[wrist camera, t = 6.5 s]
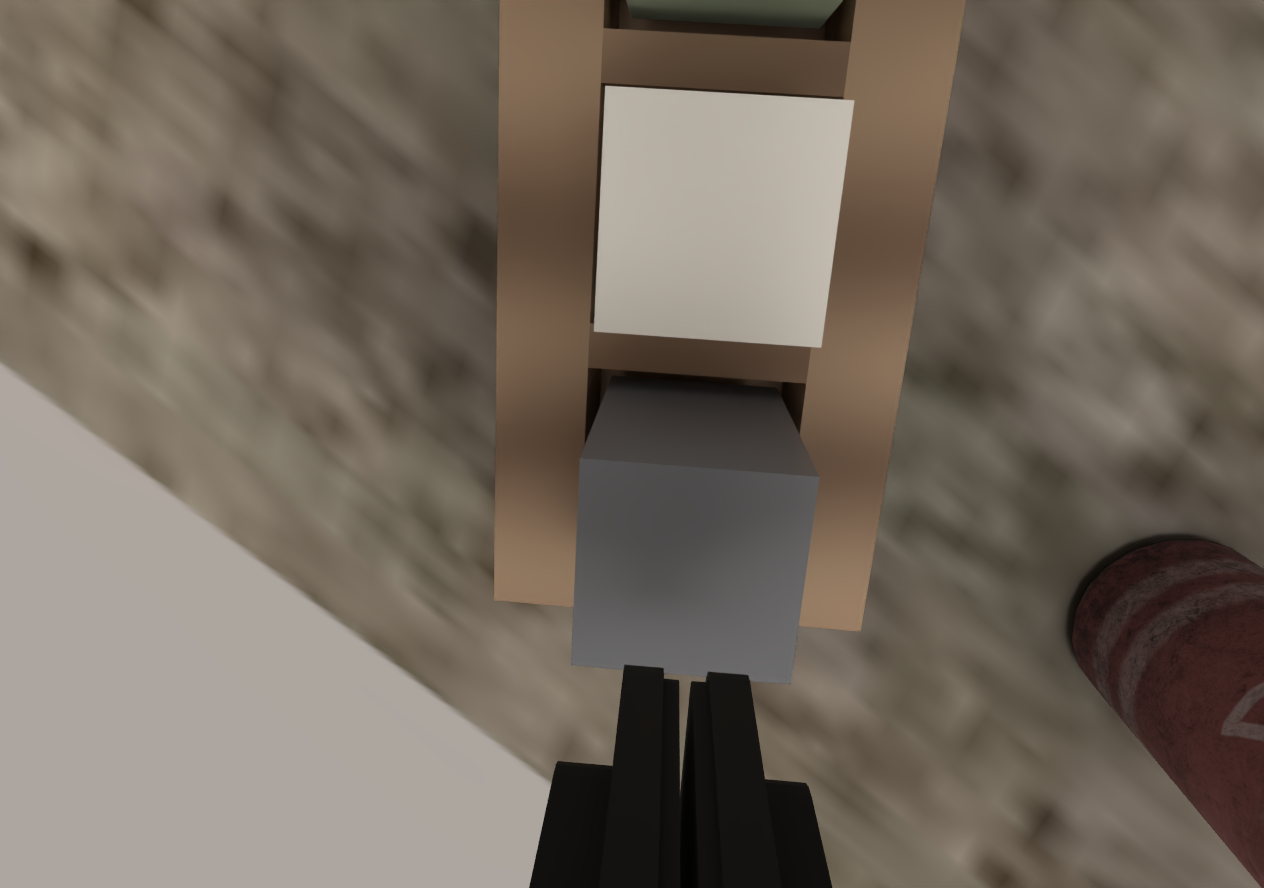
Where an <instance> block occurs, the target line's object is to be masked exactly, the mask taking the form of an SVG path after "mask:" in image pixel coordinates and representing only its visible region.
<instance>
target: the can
mask: <svg viewBox="0 0 1264 888" xmlns="http://www.w3.org/2000/svg"><path fill="white" fill-rule="evenodd" d="M1072 642H1073V646H1074V650H1075V654H1076V658H1077V662H1078V665H1079V667H1080V668H1081V669H1082V671H1083V672H1084V673H1085V675H1086V676H1087V677H1088V679H1089V680H1090V681H1091V683H1092V684H1093V685H1094V687H1095V688H1096V689H1097V690H1098V691H1099V693H1100V694H1101V695H1102V696H1103V697H1104V699H1105V700H1106V701H1107V702H1108V703H1109V705H1110V706H1111V707H1112V708H1113V709H1114V711H1115V712H1116V713H1117V714H1118V715H1119V717H1120V718H1121V719H1122V720H1123V722H1124V723H1125V724H1126V725H1127V726H1128V728H1129V729H1130V730H1131V731H1132V732H1133V734H1134V735H1135V736H1136V737H1137V738H1138V740H1139V741H1140V742H1141V743H1142V744H1143V746H1144V747H1145V748H1146V749H1147V750H1148V752H1149V753H1150V754H1151V755H1152V756H1153V758H1154V759H1155V760H1156V761H1157V762H1158V764H1159V765H1160V766H1161V767H1162V768H1163V770H1164V771H1165V772H1166V773H1167V774H1168V776H1169V777H1170V778H1171V779H1172V780H1173V782H1174V783H1175V784H1176V785H1177V786H1178V788H1179V789H1180V790H1181V791H1182V792H1183V794H1184V795H1185V796H1186V797H1187V798H1188V800H1189V801H1190V802H1191V803H1192V804H1193V806H1194V807H1195V808H1196V809H1197V811H1198V812H1199V813H1200V814H1201V815H1202V817H1203V818H1204V819H1205V820H1206V821H1207V823H1208V824H1209V825H1210V826H1211V827H1212V829H1213V830H1214V831H1215V832H1216V833H1217V835H1218V836H1219V837H1220V838H1221V839H1222V841H1223V842H1224V843H1225V844H1226V845H1227V847H1228V848H1229V849H1230V850H1231V851H1232V853H1233V854H1234V855H1235V856H1236V857H1237V859H1238V860H1239V861H1240V862H1241V863H1242V865H1243V866H1244V867H1245V868H1246V869H1247V871H1248V872H1249V873H1250V874H1251V875H1252V877H1253V878H1254V879H1255V880H1256V881H1257V883H1258V884H1259V885H1260V886H1261V887H1262V888H1264V569H1263V568H1261V567H1259V566H1258V565H1256V564H1255V563H1253V562H1252V561H1250V560H1249V559H1247V558H1246V557H1244V556H1243V555H1241V554H1239V553H1238V552H1236V551H1235V550H1233V549H1232V548H1229V547H1225V546H1222V545H1218V544H1215V543H1211V542H1207V541H1204V540H1178V541H1165V542H1160V543H1156V544H1153V545H1150V546H1146V547H1143V548H1139V549H1136V550H1133V551H1130V552H1129V553H1127V554H1125V555H1124V556H1122V557H1120V558H1119V559H1117V560H1115V561H1114V562H1112V563H1110V564H1109V565H1107V566H1106V567H1105V568H1104V569H1103V570H1102V572H1101V573H1100V574H1099V575H1098V576H1097V577H1096V578H1095V579H1094V580H1093V581H1092V582H1091V583H1090V584H1089V585H1088V587H1087V589H1086V591H1085V593H1084V595H1083V597H1082V599H1081V601H1080V603H1079V605H1078V607H1077V611H1076V614H1075V622H1074V630H1073V638H1072Z"/></svg>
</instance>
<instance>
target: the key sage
mask: <svg viewBox="0 0 1264 888" xmlns="http://www.w3.org/2000/svg"><path fill="white" fill-rule="evenodd" d="M842 1H843V0H626V2H627V5H628V8H629V12H630V15H631V18H636V19H654V20H672V21H690V22H708V23H726V24H744V25H762V26H780V27H798V28H817V29H820V28H821V26H822V25H823V24H824V23H825V22H826V20H827V19H828V18H829V17H830V16H831V14H832V13H833V12H834V11H835V10H836V8H837V7H838V6H839V5H840V4H841V2H842Z"/></svg>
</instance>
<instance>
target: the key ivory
mask: <svg viewBox="0 0 1264 888" xmlns="http://www.w3.org/2000/svg"><path fill="white" fill-rule="evenodd" d="M853 108H854V100H839V99H822V98H805V97H788V96H771V95H754V94H737V93H720V92H703V91H686V90H669V89H652V88H635V87H618V86H605V101H604V123H603V144H602V166H601V187H600V209H599V230H598V252H597V273H596V295H595V316H594V332H606V333H620V334H634V335H648V336H663V337H677V338H691V339H705V340H719V341H733V342H747V343H761V344H775V345H789V346H803V347H817V348H821V346H822V339H823V331H824V324H825V316H826V309H827V301H828V294H829V287H830V279H831V272H832V264H833V257H834V249H835V242H836V234H837V227H838V220H839V212H840V205H841V197H842V190H843V182H844V175H845V167H846V160H847V153H848V145H849V138H850V130H851V123H852V115H853Z"/></svg>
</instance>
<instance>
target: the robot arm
mask: <svg viewBox="0 0 1264 888" xmlns="http://www.w3.org/2000/svg"><path fill="white" fill-rule="evenodd" d="M529 888H832V884H831V880H830V876H829V871H828V867H827V862H826V858H825V854H824V849H823V845H822V840H821V836H820V832H819V827H818V823H817V818H816V814H815V810H814V805H813V801H812V797H811V793H810V790H809V787H808V786H807V784H806V783H801V782H789V781H778V780H767V779H765V777H764V770H763V764H762V757H761V751H760V744H759V737H758V731H757V724H756V718H755V711H754V705H753V698H752V692H751V685H750V679H749V676H748V675H744V674H732V673H720V672H708V673H707V677H706V682H696V681H692V682H691V687H690V697H689V707H688V718H687V728H686V738H685V749H684V759H683V770H682V780H681V791H680V749H679V680H672V679H664V668H660V667H648V666H636V665H625V664H624V671H623V680H622V689H621V698H620V707H619V715H618V724H617V733H616V742H615V751H614V760H613V766H607V765H596V764H584V763H573V762H562V761H558V762H557V764H556V767H555V771H554V775H553V779H552V784H551V789H550V793H549V798H548V803H547V807H546V812H545V817H544V822H543V826H542V831H541V835H540V840H539V845H538V850H537V854H536V859H535V864H534V868H533V873H532V877H531V882H530V887H529Z"/></svg>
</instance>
